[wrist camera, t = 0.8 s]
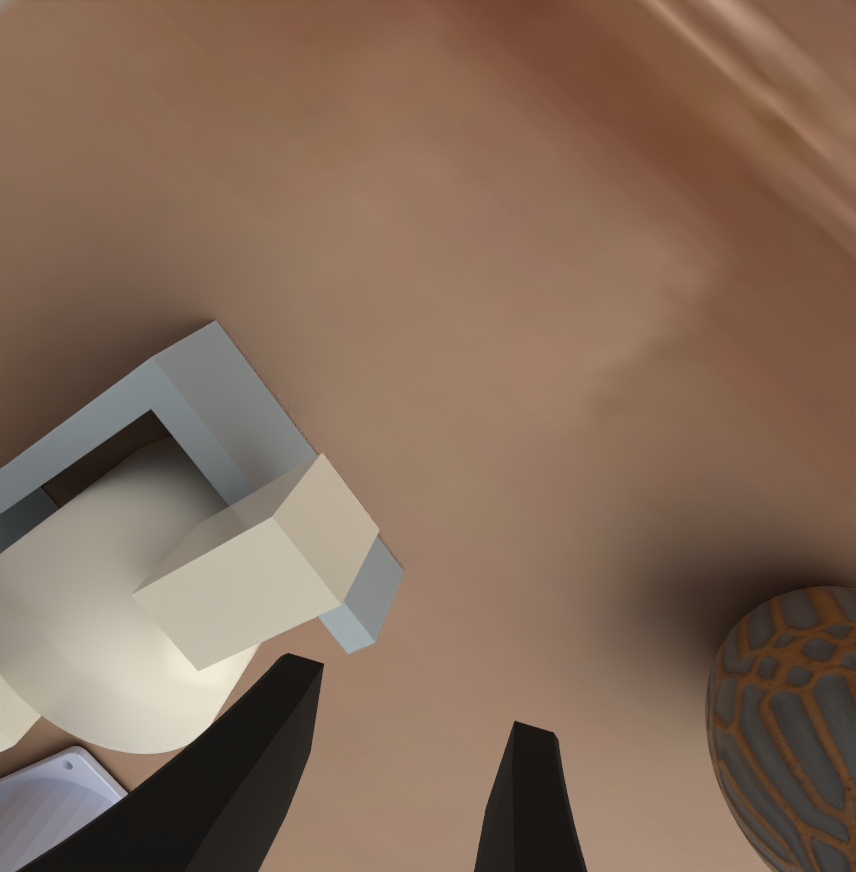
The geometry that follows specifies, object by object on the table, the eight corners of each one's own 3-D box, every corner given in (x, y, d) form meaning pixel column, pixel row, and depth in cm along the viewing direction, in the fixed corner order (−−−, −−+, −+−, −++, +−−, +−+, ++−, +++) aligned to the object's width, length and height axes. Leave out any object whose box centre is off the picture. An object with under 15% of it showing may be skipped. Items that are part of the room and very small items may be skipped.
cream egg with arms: (97, 693, 29) (-41, 856, 23) (-27, 560, 27) (-213, 696, 21) (458, 518, 22) (403, 683, 16) (321, 325, 20) (200, 424, 14)
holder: (180, 675, 27) (128, 747, 24) (3, 475, 25) (-79, 527, 22) (404, 571, 23) (375, 642, 20) (215, 319, 21) (151, 356, 18)
